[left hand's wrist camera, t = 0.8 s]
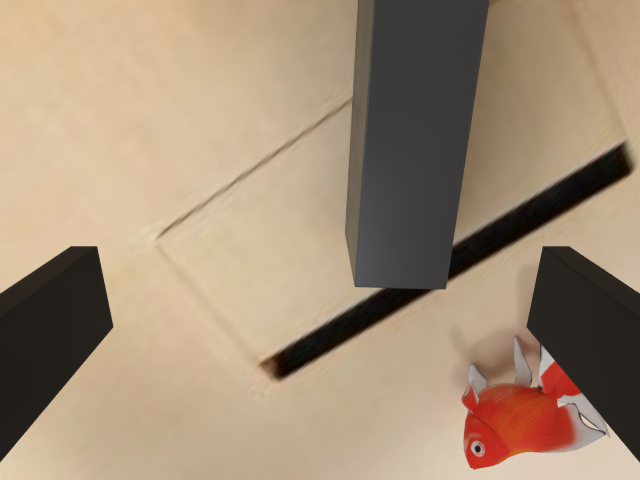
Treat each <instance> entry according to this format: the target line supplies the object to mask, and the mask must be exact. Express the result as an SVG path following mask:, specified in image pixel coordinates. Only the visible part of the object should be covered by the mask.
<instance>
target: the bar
mask: <svg viewBox="0 0 640 480" xmlns="http://www.w3.org/2000/svg"><path fill="white" fill-rule="evenodd" d="M488 7H489V0H358V14H357V32H356V50H355V68H354V85H353V103H352V121H351V139H350V157H349V175H348V193H347V211H346V228H345V235H346V241H347V246H348V252H349V257H350V263H351V269H352V274H353V280H354V285H355V287H376V288H413V289H446V285H447V278H448V272H449V265H450V258H451V252H452V245H453V239H454V232H455V225H456V219H457V212H458V205H459V199H460V192H461V186H462V179H463V172H464V166H465V159H466V152H467V146H468V139H469V133H470V126H471V119H472V113H473V106H474V99H475V93H476V86H477V80H478V73H479V66H480V60H481V53H482V46H483V40H484V33H485V27H486V20H487V13H488Z"/></svg>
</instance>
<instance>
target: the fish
mask: <svg viewBox="0 0 640 480" xmlns="http://www.w3.org/2000/svg"><path fill="white" fill-rule="evenodd" d="M540 353H541V361H540V370H539V386H538V387H533V388H531V387H530V385H531V382H532V373H531V371H530V368H529V366H528V364H527V362H526V359H525V357H524V355H523V352H522V350H521V348H520V345H519V342H518V340H517V338H516V337H514V361H515V369H516V380H515V383H514V384H510V383H501V384H495V385H491V386H488V387H487V379H486V378H485V377H484V376H483V375H482V374H481V373H480V371H479V370H478V369H477V368H476V366H475V365H470V367H469V375H468V383H469V386H468V388H467V389H466V391H465V393H464V395H463V396H462V403H463V404H464V405H465V406H466V408H467V409H468V413H467V417H466V420H465V430H464V452H465V456H466V458H467V461H468V463H469V465H470V467H471V468H473V469H474V470H475V469H478V468H484V467H490V466H494V465H496V464H499V463H500V462H502V461H504V460H505V459H507V458H509V457H511V456H514V455H516V454H519V453H523V452H540V453H560V452H568V451H573V450H578V449H580V448H582V447H584V446H586V445H588V444H590V443H592V442H594V441H596V440H597V439H599V438H601V437H603V436H604V435H605V434H606V435H608V436H609V437H610V435H609V432H608V429H607V427H606V424H605V421H604V419H603V418H602V417H601V415H600V414H599V413H598V412H597V411H596V409H595V408H594V407H593V406H592V405H591V403H590V402H589V401H588V400H587V399H586V397H585V396H584V395H583V394H582V393H581V392H580V390H579V389H578V388H577V387H576V386H575V384H574V383H573V382H572V381H571V380H570V378H569V377H568V376H567V375H566V374H565V372H564V371H563V370H562V369H561V368H560V366H559V365H558V364H557V363H556V362H555V360H554V359H553V358H552V357H551V356H550V354H549V353H548V352H547V351H546V350H545V348H544V347H543V346H542V345H541V344H540ZM557 400H558V401H560V402H563V403H567V404H566V405H564V406H561V407H559V408H558V405H557ZM580 414H581V415H582V416H583V417H584V418H586V419H587V420H588V421H589V422H590V423H592V424H593V425H594V426H596V427H597V428H598V429H600V430H597V429H593V428H590V427H588V426H587V425H586V424H584V423H583V421H582V419H581V416H580ZM610 438H611V437H610Z"/></svg>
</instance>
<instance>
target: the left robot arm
mask: <svg viewBox="0 0 640 480" xmlns="http://www.w3.org/2000/svg"><path fill="white" fill-rule="evenodd" d="M112 328H113V322H112V318H111V313H110V308H109V303H108V298H107V293H106V288H105V283H104V278H103V273H102V268H101V263H100V259H99V254H98V249H97V246H71V247H69V248H68V249H66V250H65V251H63V252H62V253H60V254H59V255H57V256H56V257H54V258H53V259H51V260H50V261H48V262H47V263H45V264H44V265H42V266H41V267H39V268H38V269H36V270H35V271H33V272H32V273H30V274H29V275H27V276H26V277H24V278H23V279H21V280H20V281H18V282H17V283H15V284H14V285H12V286H11V287H9V288H8V289H6V290H5V291H3V292H2V293H0V462H1V461H2V460H3V458H4V457H5V456H6V455H7V454H8V452H9V451H10V450H11V449H12V448H13V447H14V445H15V444H16V443H17V442H18V441H19V439H20V438H21V437H22V436H23V435H24V433H25V432H26V431H27V430H28V429H29V427H30V426H31V425H32V424H33V423H34V421H35V420H36V419H37V418H38V417H39V415H40V414H41V413H42V412H43V411H44V409H45V408H46V407H47V406H48V405H49V403H50V402H51V401H52V400H53V399H54V397H55V396H56V395H57V394H58V393H59V392H60V390H61V389H62V388H63V387H64V386H65V384H66V383H67V382H68V381H69V380H70V378H71V377H72V376H73V375H74V374H75V372H76V371H77V370H78V369H79V368H80V366H81V365H82V364H83V363H84V362H85V360H86V359H87V358H88V357H89V356H90V354H91V353H92V352H93V351H94V350H95V348H96V347H97V346H98V345H99V344H100V342H101V341H102V340H103V339H104V338H105V337H106V335H107V334H108V333H109V332H110V331H111V329H112ZM527 328H528V329H529V331H530V332H531V333H532V334H533V335H534V337H535V338H536V339H537V340H538V341H539V342H540V344H541V345H542V346H543V347H544V348H545V350H546V351H547V352H548V353H549V354H550V356H551V357H552V358H553V359H554V360H555V362H556V363H557V364H558V365H559V366H560V368H561V369H562V370H563V371H564V372H565V374H566V375H567V376H568V377H569V378H570V380H571V381H572V382H573V383H574V384H575V386H576V387H577V388H578V389H579V390H580V392H581V393H582V394H583V395H584V396H585V397H586V399H587V400H588V401H589V402H590V403H591V405H592V406H593V407H594V408H595V409H596V411H597V412H598V413H599V414H600V415H601V417H602V418H603V419H604V420H605V421H606V423H607V424H608V425H609V426H610V427H611V429H612V430H613V431H614V432H615V433H616V435H617V436H618V437H619V438H620V439H621V441H622V442H623V443H624V444H625V445H626V446H627V448H628V449H629V450H630V451H631V452H632V454H633V455H634V456H635V457H636V458H637V460H638V461H639V462H640V293H638V292H637V291H635V290H634V289H632V288H631V287H629V286H628V285H626V284H625V283H623V282H622V281H620V280H619V279H617V278H616V277H614V276H613V275H611V274H610V273H608V272H607V271H605V270H604V269H602V268H601V267H599V266H598V265H596V264H595V263H593V262H592V261H590V260H589V259H587V258H586V257H584V256H583V255H581V254H580V253H578V252H577V251H575V250H574V249H572V248H571V247H569V246H543V249H542V254H541V259H540V263H539V268H538V273H537V278H536V283H535V288H534V293H533V298H532V303H531V308H530V313H529V318H528V322H527Z"/></svg>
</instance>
